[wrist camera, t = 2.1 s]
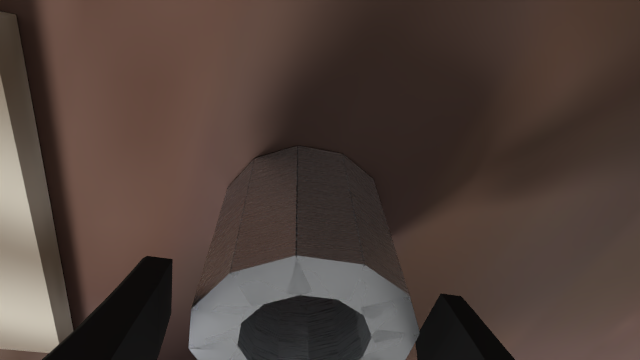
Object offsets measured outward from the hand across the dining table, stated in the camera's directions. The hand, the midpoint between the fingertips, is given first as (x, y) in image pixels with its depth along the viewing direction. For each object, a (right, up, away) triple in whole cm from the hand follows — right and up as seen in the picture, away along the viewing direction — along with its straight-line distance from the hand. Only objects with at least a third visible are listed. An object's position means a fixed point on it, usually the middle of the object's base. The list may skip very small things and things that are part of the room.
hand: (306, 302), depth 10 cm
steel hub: (0, +2, +3) cm, 4 cm away
